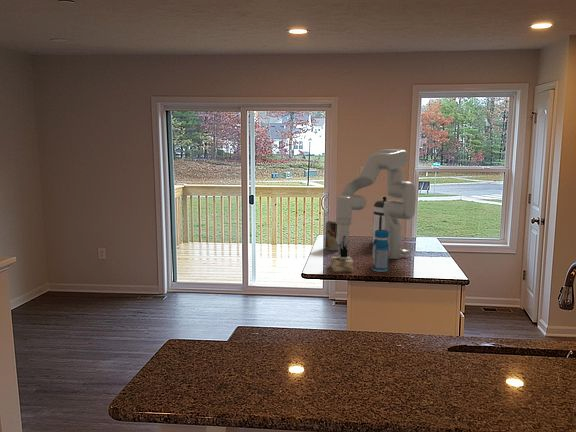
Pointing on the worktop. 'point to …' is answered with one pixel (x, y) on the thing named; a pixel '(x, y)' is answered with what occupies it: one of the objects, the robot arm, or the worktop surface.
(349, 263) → the socket block
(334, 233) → the coffee box
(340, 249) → the peg
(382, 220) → the coffee press
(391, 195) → the robot arm
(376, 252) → the beverage bottle
